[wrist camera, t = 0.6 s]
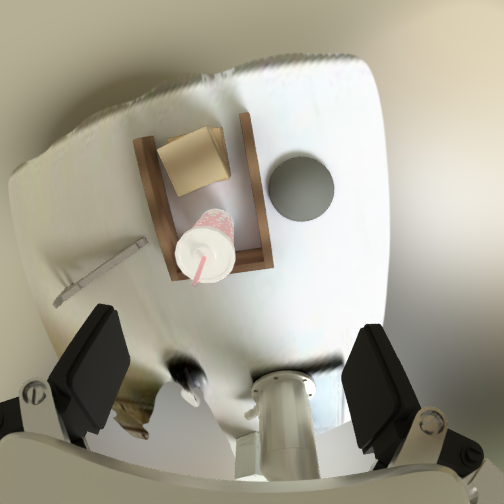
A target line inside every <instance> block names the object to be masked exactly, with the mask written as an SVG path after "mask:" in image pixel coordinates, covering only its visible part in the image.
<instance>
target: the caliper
mask: <svg viewBox="0 0 504 504" xmlns="http://www.w3.org/2000/svg"><path fill="white" fill-rule="evenodd" d="M147 243H148V242H147V240H146V239H145V237H143V238H141V239H140V240H138V241H136V242H135V243H133V244H132V245H130V246H128V247H127V248H125V249H124V250H122V251H121V252H120V253H118V254H117V255H115V256H114V257H112V258H111V259H109V260H108V261H106V262H105V263H104V264H102V265H101V266H99V267H98V268H96V269H95V270H94V271H92V272H91V273H89V274H88V275H87V276H85V277H84V278H81V279H80V280H79V281H77V282H76V283H75V284H73V283H72V284H71V285H70V286H69V287H67V288H66V289H65V290H64V291H63V292H62V293H61V294H60V295H59V296H58V297H57V298H56V300H55V301H54V303H53V306H54V307H55V308H57V307H58V306H59V305H61V304H62V303H63V302H64V301H66V300H67V299H68V298H70V297H71V296H72V295H74V294H75V293H77V292H78V291H79V290H81V289H82V288H83V287H84V286H86V285H87V284H88V283H90V282H91V281H93V280H94V279H96V278H97V277H99V276H100V275H101V274H103V273H104V272H106V271H107V270H109V269H110V268H112V267H113V266H115V265H116V264H118V263H119V262H121V261H122V260H124V259H125V258H127V257H128V256H130V255H131V254H133V253H134V252H136V251H137V250H139V249H140V248H141V247H143V246H144V245H146V244H147Z"/></svg>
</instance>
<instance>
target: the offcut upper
mask: <svg viewBox="0 0 504 504" xmlns="http://www.w3.org/2000/svg"><path fill="white" fill-rule="evenodd" d="M157 152H158V154H159V156H160V158H161V160H162V163H163V165H164V167H165V169H166V171H167V174H168V176H169V178H170V180H171V182H172V184H173V187H174V189H175V191H176V193H177V195H178V197H180V196H182V195H185V194H187V193H189V192H192V191H194V190H196V189H199V188H201V187H203V186H206V185H208V184H210V183H213V182H215V181H218V180H220V179H223V178H225V177H228V175H229V173H230V170H229V168H228V166H227V163H226V161H225V158H224V156H223V154H222V151H221V149H220V147H219V144H218V142H217V140H216V137H215V135H214V133H213V130H212V128H211V126H205V127H203V128H200V129H198V130H196V131H194V132H192V133H190V134H187V135H185V136H183V137H181V138H179V139H177V140H175V141H173V142H171V143H169V144H167V145H165V146H163V147H161V148H159V149H157Z"/></svg>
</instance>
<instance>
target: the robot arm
mask: <svg viewBox="0 0 504 504" xmlns="http://www.w3.org/2000/svg"><path fill="white" fill-rule="evenodd" d="M129 365H130V355H129V352H128V349H127V346H126V342H125V339H124V335H123V332H122V328H121V324H120V320H119V316H118V313H117V311H116V310H114V308H113V306H111V305H105V304H98V305H97V306H96V307H95V308H94V310H93V311H92V312H91V314H90V315H89V317H88V318H87V319H86V321H85V322H84V324H83V325H82V327H81V328H80V329H79V331H78V332H77V334H76V335H75V337H74V338H73V340H72V341H71V343H70V344H69V346H68V347H67V349H66V350H65V352H64V353H63V355H62V356H61V358H60V360H59V361H58V363H57V364H56V366H55V367H54V369H53V371H52V372H51V374H50V376H49V378H48V380H47V381H46V380H44V379H43V378H38V377H36V378H31V379H29V380H27V381H26V382H25V383H23V385H22V386H21V388H20V391H19V397H16V398H13V399H10V400H7V401H4V402H1V403H0V504H504V474H503V473H502V472H501V471H500V470H499V469H498V468H497V467H496V466H495V465H494V464H493V463H491V462H490V461H489V460H488V459H486V460H484V459H483V458H484V454H483V450H482V448H481V446H480V445H479V444H478V443H477V442H475V441H473V440H471V439H469V438H467V437H465V436H462V435H460V434H458V433H456V432H454V431H452V430H450V429H448V428H447V427H448V422H447V418H446V416H445V415H444V414H443V412H442V411H440V410H439V409H437V408H434V407H425V408H422V409H421V407H420V404H419V402H418V400H417V397H416V395H415V393H414V390H413V388H412V386H411V384H410V382H409V379H408V377H407V375H406V373H405V371H404V369H403V367H402V365H401V362H400V361H399V359H398V357H397V355H396V353H395V351H394V349H393V347H392V345H391V343H390V341H389V339H388V337H387V335H386V333H385V331H384V329H383V327H382V326H381V324H366V325H365V326H364V328H361V329H360V331H359V333H358V336H357V338H356V341H355V343H354V346H353V348H352V351H351V353H350V355H349V358H348V360H347V362H346V365H345V367H344V369H343V372H342V375H341V380H342V384H343V388H344V392H345V396H346V399H347V403H348V407H349V411H350V415H351V419H352V423H353V427H354V432H355V436H356V440H357V444H358V447H359V448H360V449H362V451H363V454H370V453H374V454H375V458H376V460H375V461H374V463H373V465H372V466H371V468H370V470H369V471H368V472H365V473H359V474H353V475H346V476H339V477H332V478H324V479H321V476H320V470H319V464H318V456H317V449H316V441H315V434H314V427H313V420H312V413H311V406H310V399H311V398H312V397H313V395H314V394H315V391H316V386H315V382H314V380H313V379H312V378H311V377H310V376H309V375H307V374H305V373H302V372H298V371H290V370H286V371H276V372H272V373H269V374H267V375H264V376H262V377H261V378H259V379H258V380H256V381H255V383H254V384H253V386H252V389H251V395H252V398H253V400H254V401H255V402H256V405H255V406H254V408H253V409H251V410H249V411H247V412H245V414H244V416H245V418H246V419H248V420H251V419H253V418H255V417H256V416H257V415H258V417H259V465H260V470H261V472H262V474H263V476H264V477H265V478H266V479H267V480H268V481H269V482H259V481H234V480H220V479H211V478H202V477H195V476H188V475H181V474H176V473H170V472H165V471H160V470H155V469H151V468H147V467H143V466H139V465H135V464H131V463H128V462H124V461H120V460H117V459H114V458H111V457H108V456H105V455H102V454H98V453H96V452H93V451H91V450H90V448H89V446H88V443H87V441H86V438H85V435H86V433H87V431H88V432H91V433H94V434H97V435H98V433H99V430H100V429H103V428H104V426H105V424H106V421H107V419H108V416H109V414H110V411H111V408H112V406H113V403H114V401H115V398H116V396H117V394H118V391H119V389H120V386H121V384H122V381H123V379H124V377H125V374H126V372H127V370H128V367H129Z"/></svg>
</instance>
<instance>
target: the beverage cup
mask: <svg viewBox="0 0 504 504" xmlns="http://www.w3.org/2000/svg"><path fill="white" fill-rule="evenodd" d="M175 257H176V262H177V265H178V266H179V268H180V269H181V271H182V272H183V274H185V275H186V276H188V277H189V278H190V279H192V280H193V282H192V285H193V286H194V287H196V286H197V285H198V282H201V283H215V282H218V281H220V280H222V279H224V278H226V276H227V275H228V274H229V273H230V272H231V271H232V269H233V266H234V263H235V248H234V221H233V219H232V218H231V216H230V215H229V214H228V213H227V212H226V211H224V210H221V209H210V210H208V211H206V212H205V213H204V214H203V215H202V216H201V217H200V219H199V220H198V221H197V222H196V223H195V225H194V226H193V227H192V228H191V229H190V230H188V231H186V232H185V233H184V234H183V236H182V237H181V238H180V240H179V241H178V242H177V245H176V250H175Z"/></svg>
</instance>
